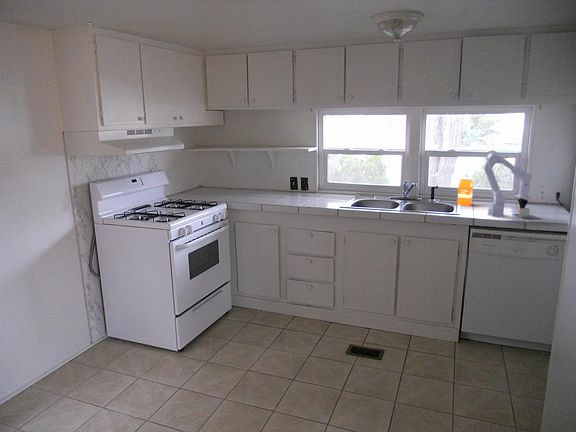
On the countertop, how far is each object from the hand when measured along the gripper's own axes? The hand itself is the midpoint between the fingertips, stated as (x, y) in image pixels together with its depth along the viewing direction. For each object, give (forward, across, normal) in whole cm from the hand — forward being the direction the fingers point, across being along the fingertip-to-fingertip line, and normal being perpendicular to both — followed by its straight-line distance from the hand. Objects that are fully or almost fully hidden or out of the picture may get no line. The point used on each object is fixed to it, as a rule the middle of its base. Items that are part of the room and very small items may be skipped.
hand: (522, 209), depth 303 cm
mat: (+5, -2, -2) cm, 6 cm away
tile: (+5, -3, 0) cm, 6 cm away
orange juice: (+5, +46, +19) cm, 49 cm away
